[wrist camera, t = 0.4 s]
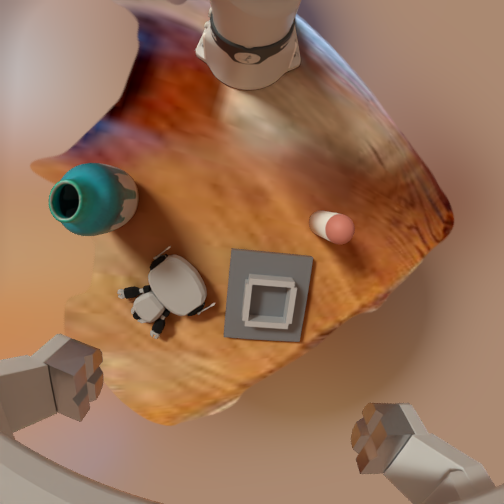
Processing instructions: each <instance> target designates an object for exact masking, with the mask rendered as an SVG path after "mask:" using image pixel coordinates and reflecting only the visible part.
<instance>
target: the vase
mask: <svg viewBox="0 0 504 504" xmlns="http://www.w3.org/2000/svg"><path fill="white" fill-rule="evenodd" d="M138 202H139V193H138V188H137V185H136V183H135V181H134V180H133V179H132V177H131V176H130V175H129V174H127V173H126V172H125V171H123V170H121V169H119V168H117V167H114V166H110V165H106V164H99V163H88V164H81V165H78V166H76V167H74V168H72V169H71V170H69V171H68V172H67V173H66V174H65V175H64V176H63V178H62V179H61V180H60V181H59V182H58V183H56V184H55V186H54V187H53V188H52V190H51V193H50V195H49V208H50V211H51V214H52V215H53V217H54V218H55V219H56V220H58V221H60V222H61V223H62V224H63V225H64V226H65V228H67V229H68V230H69V231H71V232H72V233H74V234H77V235H81V236H95V235H100V234H104V233H108V232H111V231H113V230H115V229H118V228H119V227H121V226H123V225H124V224H126V223H127V222H128V221H129V220H130V219H131V218H132V217H133V215H134V213H135V212H136V209H137V206H138Z"/></svg>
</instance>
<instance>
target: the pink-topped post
mask: <svg viewBox="0 0 504 504" xmlns="http://www.w3.org/2000/svg"><path fill="white" fill-rule="evenodd" d="M309 227H310V229H311V231H312V232H313V233H314V234H316V235H318V236H320V237H322V238H324V239H326V240H328V241H330V242H333V243H335V244H345V243H347V242H348V241H350V240H351V239H352V237H353V235H354V231H355V228H354V224H353V222H352V220H351V219H350V218H349V217H348V216H346V215H343V214H338V213H333V212H328V211H322V210H320V211H316V212H314V213H313V214H312V215H311V217H310V219H309Z"/></svg>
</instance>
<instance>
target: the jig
mask: <svg viewBox="0 0 504 504" xmlns="http://www.w3.org/2000/svg"><path fill="white" fill-rule="evenodd" d="M312 263H313V257H312V256H306V255H296V254H285V253H275V252H265V251H254V250H244V249H234V248H232V250H231V261H230V271H229V282H228V292H227V303H226V315H225V326H224V337H230V338H243V339H257V340H273V341H293V342H299V341H300V336H301V330H302V325H303V319H304V313H305V307H306V301H307V295H308V289H309V282H310V276H311V269H312Z"/></svg>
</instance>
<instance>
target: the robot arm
mask: <svg viewBox="0 0 504 504" xmlns="http://www.w3.org/2000/svg"><path fill="white" fill-rule="evenodd" d="M300 2H301V0H210V4H211V7H210V9H209V13H208V17H210V20H209V21H207V22H206V23H205V31H204V33H203V35H202V37H201V39H200V41H199V44H198V46H197V48H196V55H197V57H198V58H200V59H201V60H203V61H204V62H206V63H207V64H208V66H209V67H210V69H211V71H212V72H213V74H214V75H215V76H216V77H217V78H218V79H219V80H220V81H222V82H223V83H225V84H226V85H229V86H231V87H234V88H237V89H243V90H254V89H260V88H264V87H266V86H269V85H271V84H273V83H274V82H276V81H277V80H278V79H279V78H280V77H281V76H282V75H283V74H284V73H285V72H287V71H290V70H292V69H295V68H297V67H298V66H299V65H300V62H301V58H300V52H299V46H298V40H297V34H296V28H295V15H296V13H297V10H298V8H299V5H300ZM294 55H295V57H294ZM102 362H103V358H102V352H101V350H100V349H98V348H95V347H92V346H90V345H87V344H85V343H82V342H80V341H77V340H75V339H72V338H70V337H67V336H65V335H62V334H57V335H55V336H54V337H53V338H52V339H51V340H49V341H48V342H47V343H46V344H45V345H44V346H42V347H41V348H40V349H39V350H38V351H37V352H35V353H34V354H33V355H32V356H31V357H30V356H27V355H25V356H19V357H14V358H9V359H3V360H0V504H163V503H159V502H156V501H152V500H149V499H145V498H142V497H139V496H136V495H132V494H130V493H127V492H124V491H121V490H118V489H115V488H112V487H110V486H107V485H104V484H102V483H100V482H97V481H95V480H92V479H90V478H88V477H85V476H83V475H80V474H78V473H76V472H74V471H72V470H70V469H68V468H66V467H64V466H62V465H59V464H57V463H56V462H54V461H52V460H50V459H48V458H46V457H44V456H42V455H40V454H39V453H37V452H35V451H33V450H31V449H30V448H28V447H26V446H24V445H23V444H21V443H20V442H18V441H16V440H15V438H14V436H13V432H16V431H18V430H20V429H23V428H25V427H27V426H30V425H32V424H34V423H36V422H39V421H41V420H43V419H45V418H48V417H50V416H52V415H54V414H57V412H58V413H61V414H63V415H65V416H67V417H70V418H72V419H75V420H77V421H79V422H81V421H82V420H83V418H84V417H85V415H86V414H87V412H88V411H89V409H90V404H89V402H91V401H94V400H96V399H97V398H98V396H99V394H100V392H101V389H102V386H103V372H102V370H101V369H100V367H99V365H100V364H101V363H102ZM362 414H363V418H362V419H360V420H359V421H357V422H356V424H355V426H354V428H353V430H352V435H351V444H352V448H353V450H355V451H356V452H357V453H358V456H357V458H356V462H357V465H358V468H359V471H360V474H379V473H384V474H383V475H384V476H385V477H386V478H387V479H388V480H389V481H390V482H391V483H392V484H393V485H394V486H395V487H396V488H397V489H398V490H399V491H400V492H401V493H402V494H403V495H404V496H405V497H407V498H408V499H409V500H410V501H411V502H412V503H413V504H504V484H502V485H499V486H497V487H495V485H494V483H493V482H492V480H491V478H490V477H489V475H488V474H487V472H486V470H485V469H484V467H483V465H482V464H481V463H479V462H477V461H476V460H474V459H472V458H471V457H469V456H467V455H466V454H464V453H463V452H461V451H459V450H458V449H456V448H455V447H453V446H451V445H450V444H448V443H446V442H445V441H443V440H442V439H440V438H439V437H437V436H436V435H434V434H429V433H428V431H427V430H426V428H425V426H424V424H423V423H422V421H421V419H420V418H419V416H418V414H417V413H416V411H415V409H414V408H413V406H412V405H411V404H409V403H395V404H392V403H368V404H367V405H366V406H365V407H364V409H363V411H362Z"/></svg>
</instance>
